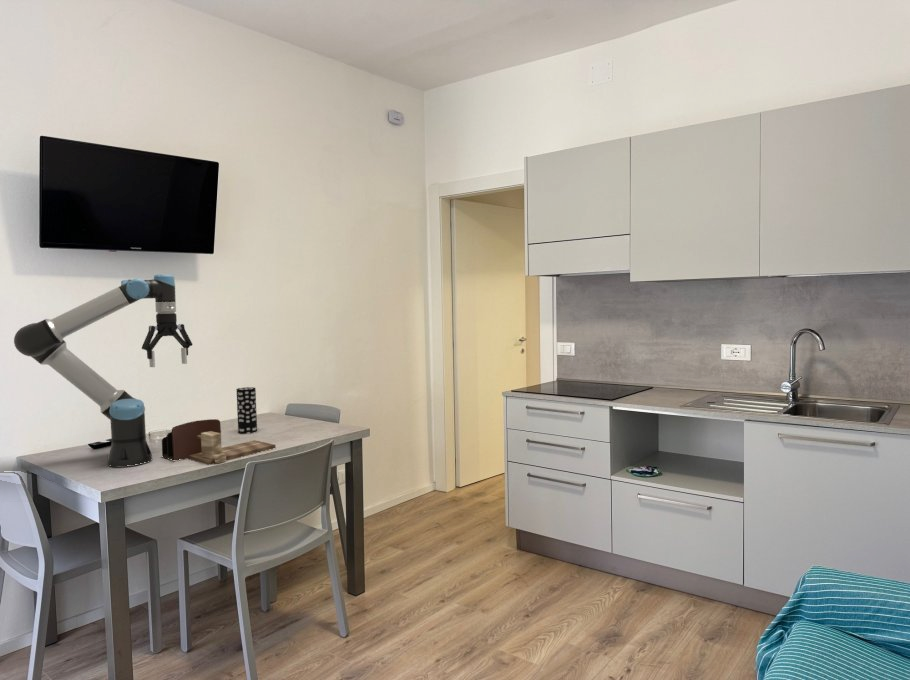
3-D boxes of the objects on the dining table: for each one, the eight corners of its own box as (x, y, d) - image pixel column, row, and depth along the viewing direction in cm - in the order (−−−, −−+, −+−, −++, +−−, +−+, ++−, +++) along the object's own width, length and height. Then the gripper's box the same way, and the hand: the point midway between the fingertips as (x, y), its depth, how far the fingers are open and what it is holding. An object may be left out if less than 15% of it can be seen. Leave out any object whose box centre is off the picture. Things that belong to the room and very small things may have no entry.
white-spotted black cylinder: (238, 434, 291) (237, 390, 290) (237, 430, 299) (235, 388, 298) (258, 432, 295) (256, 389, 293) (256, 429, 302) (254, 386, 301)
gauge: (216, 463, 241) (215, 436, 240) (194, 457, 250) (193, 431, 249) (226, 461, 244) (225, 434, 243) (204, 455, 253) (203, 429, 252)
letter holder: (222, 451, 261) (220, 417, 260) (174, 462, 246) (172, 425, 245) (209, 448, 267) (208, 414, 266) (161, 457, 252) (160, 422, 251)
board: (209, 464, 240) (209, 460, 240) (188, 459, 249) (188, 455, 249) (275, 448, 264) (275, 444, 264) (254, 443, 273) (254, 440, 273)
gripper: (140, 314, 248) (143, 369, 250) (199, 311, 268) (202, 362, 270) (130, 314, 253) (133, 368, 254) (189, 311, 273) (192, 361, 274)
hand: (168, 365), depth 262 cm, fingers open, 13 cm apart
